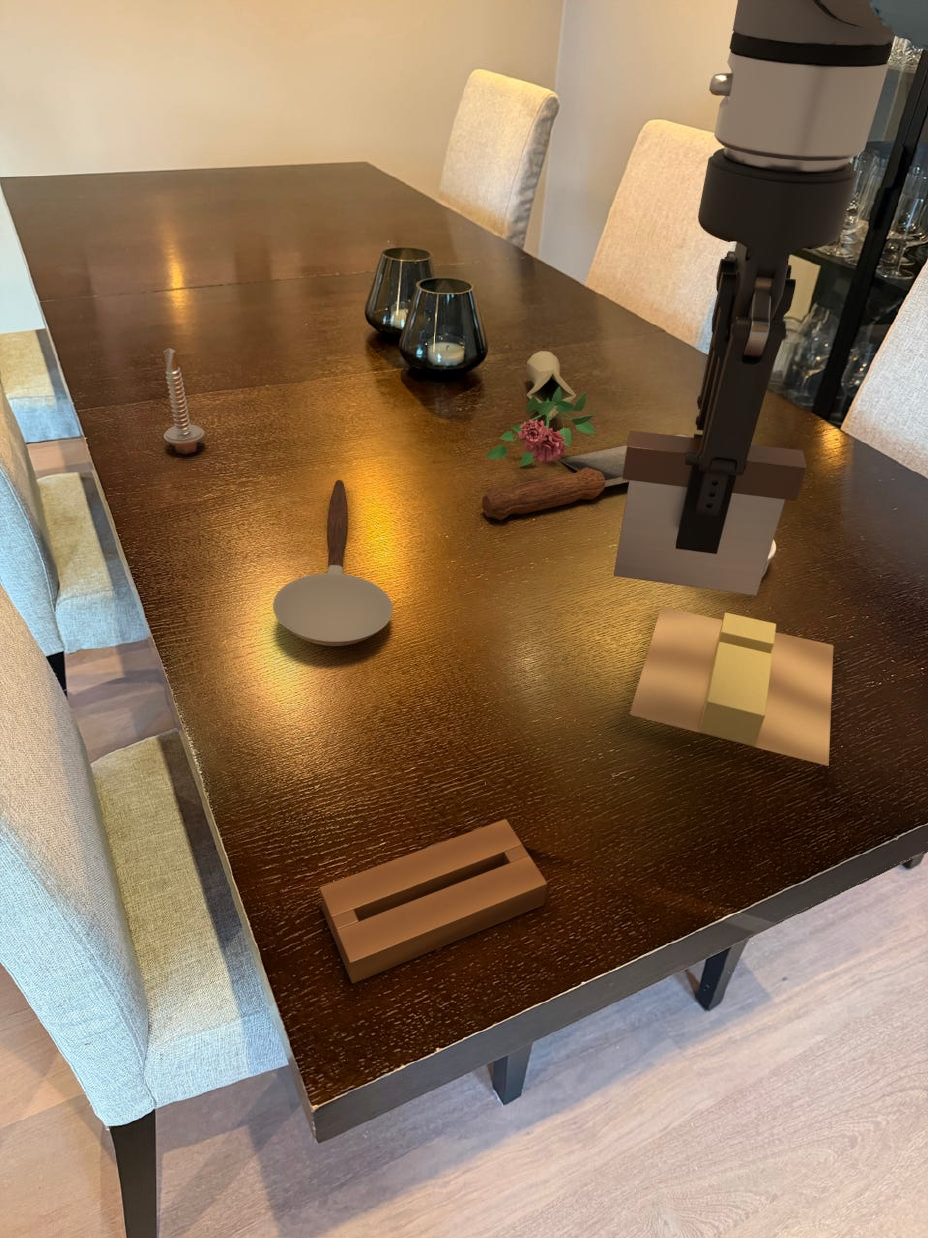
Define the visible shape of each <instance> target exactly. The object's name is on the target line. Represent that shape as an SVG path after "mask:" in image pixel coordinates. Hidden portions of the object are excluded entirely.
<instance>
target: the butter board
mask: <svg viewBox="0 0 928 1238" xmlns="http://www.w3.org/2000/svg"><path fill="white" fill-rule="evenodd" d="M722 622H723V619H720V618H715V617H710V616H706V615H703V614H698V613H695V612H694V613H693V612H689V611H685V610H680V609H676V608H671V607H667V606H661V607H660V610H659V612H658V616H657V620H656V623H655V626H654V629H653V633H652V636H651V640H650V643H649V646H648V650H647V654H646V656H645V661H644V663H643V667H642V671H641V674H640V677H639V680H638V684H637V688H636V691H635V694H634V697H633V700H632V704H631V707H630V710H629V715H630V716H633V717H637V718H641V719H644V720H649V721H653V722H657V723H661V724H665V725H668V726H673V727H675V728H680V729H683V730H687V731H691V732H694V733H699V734H703V735H706V736H710V737H715V738H718V739H722V740H725V741H730V742H734V743H737V744H742V745H746V746H748V747H753V748H756V749H761V750H765V751H768V752H771V753H775V754H780V755H784V756H787V757H791V758H795V759H799V760H803V761H807V762H810V763H815V764H819V765H822V766H826V767H829V765H830V747H831V745H830V743H831V721H832V719H831V718H832V694H833V671H834V670H833V669H834V668H833V667H834V645H833V644H830V643H826V642H820V641H817V640H812V639H808V638H803V637H799V636H794V635H790V634H787V633H782V632H777V631H775V639H774V645H773V648H772V652H771V654H772V664H771V672H770V680H769V688H768V696H767V704H766V712H765V717H764V720H763V723H762V726H761V729H760V732H759V735H758V738H757V741H756V744H755V746H752V745H748V744H744V743H740V742H736V741H732V740H729V739H725V738H721V737H717V736H713V735H709V734H705V733H702V732H699V728H700V723H701V718H702V713H703V708H704V703H705V699H706V694H707V689H708V684H709V679H710V674H711V670H712V666H713V659H714V654H715V649H716V644H717V640H718V636H719V633H720V629H721V625H722Z"/></svg>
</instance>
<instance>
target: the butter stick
mask: <svg viewBox="0 0 928 1238" xmlns="http://www.w3.org/2000/svg"><path fill="white" fill-rule="evenodd" d="M771 664H772V654H770V653H766V652H762V651H757V650H753V649H749V648H745V647H740V646H736V645H732V644H727V643H723V642H719V644H718V648H717V651H716V655H715V659H714V662H713V666H712V670H711V674H710V679H709V684H708V689H707V694H706V699H705V703H704V708H703V713H702V718H701V723H700V728H699V732H702V733H705V734H704V735H706V734H709V735H708V736H710V735H713V736H712V737H714V736H717V737H716V738H718V737H721V738H720V739H722V738H725V739H729V740H732V741H731V742H733V741H736V742H735V743H737V742H740V743H739V744H741V743H744V744H743V745H745V744H748V745H747V746H749V745H752V746H755V744H756V741H757V738H758V735H759V732H760V729H761V726H762V723H763V720H764V717H765V712H766V704H767V696H768V688H769V680H770V672H771ZM702 733H701V734H702ZM725 739H724V740H725ZM729 740H728V741H729ZM752 746H751V747H752Z"/></svg>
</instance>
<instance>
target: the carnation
mask: <svg viewBox="0 0 928 1238" xmlns="http://www.w3.org/2000/svg"><path fill="white" fill-rule="evenodd" d="M525 368H526V369H525V372H526V375H527V377H528V379H529V381H531V383H532V384H533V387H532V388H531V389H530V390H529V392H528V393H527V394H526V396H527V397H528V399H529V401H528V403H527V406H526V409H525V413H529V418H530V419H529V420H525V421H524V422H523V423H518V424H515V425H513V426H510V428H511V430H513V431H514V432H516V433H517V434H514V433H513V431H511V430H510V431H507V432H504V433H503V434H502V436H500V437H499V440H502V441H504V442H511V443H510V444H509V446H508V447H505V446H504V445H503V444H500V445H497V446H495V447H493V448H492V449H490V450H489V451H488V453H486V455H485V458H489V459H491V460H497V459H498V460H499V459H503V458H506V457H507V453H508V450H509V448H510V447H511V446H512V444H513V443H514V442H515V441H516V440H517V438H518V439H519V440H523V439H525V440H524V444H525V446H524V450H525V452H524V453H523V455H522V456H521V459H520V463H519V467H524V466H527V465H530V464H531V463H533V461H535V460H536V461H538V462H540V463H545V464H546V463H553V462H555V461H557V460H558V459H562V456H563V455H565V454H566V450H569V449H570V446H571V443H572V431H571V428H570V427H569V428H568V427H565V426H564V424H562V425H563V426H562V428H561V429H559V430H557V431H553V427H550V421H551V420H552V419H553V418H554V419H559V416H561V417H560V419H561V421H562V422H564V420H569V421H571V422H572V423H573V424H574V425H575V429H576V431H579V432H581V433H583V434H586V435H591V434H593V435H594V434H597V432H596V430H595V427H594V426H593V425H592V424H591V423H590V422H589V421H590V420H591V419H592V418H594V417H595V414H588V415H583V416H579V417H574V418H572V417H571V416H569V415H568V413H571V412H582V411H583V410H584V408H585V405H586V403H587V392H586V391H584V393H583V394H582V395H581V396H579V397H578V399H577V401H576V402H575V404H574V405H573V403H572V401H573V400H574V399H575V398H576V397H577V394H576V393H575V392H574V391H573V389H572V388H571V387H570V386H569V385H568V384H567V382H565V379H563V378H562V377H561V364H560V362H559V359H558V357H557V355H555V354H553V353H552V352H551V351H545V350H543V351H542V350H540V351H538V352H535V353H533V354H532V355H531V356H530V358H529V359H528V360H527V362H526V367H525ZM536 412H538V414H539V415H537V416H535V417H534V418H533V417H532V418H531V416H532V415H533V414H534V413H536ZM559 413H560V414H559ZM563 415H566V416H567V418H566V417H564V416H563ZM543 416H545V419H544V420H541V421H538V419H540V418H541V417H543ZM515 436H516V437H515ZM514 437H515V438H514ZM558 461H559V460H558Z"/></svg>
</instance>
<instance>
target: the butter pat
mask: <svg viewBox="0 0 928 1238" xmlns="http://www.w3.org/2000/svg"><path fill="white" fill-rule="evenodd" d="M722 620H723V622H722V625H721V629H720V633H719V636H718V640H717V644H716V649H715V654H714V659H715V655H716V651H717V648H718V644H719V642H723V643H727V644H732V645H736V646H740V647H745V648H749V649H753V650H757V651H762V652H766V653H770V654H771V652H772V648H773V645H774V639H775V632H777V631H776V630H777V623H774V622H770V621H765V620H760V619H756V618H751V617H748V616H743V615H738V614H734V613H729V612H724V614H723V618H722ZM714 659H713V662H714Z"/></svg>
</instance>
